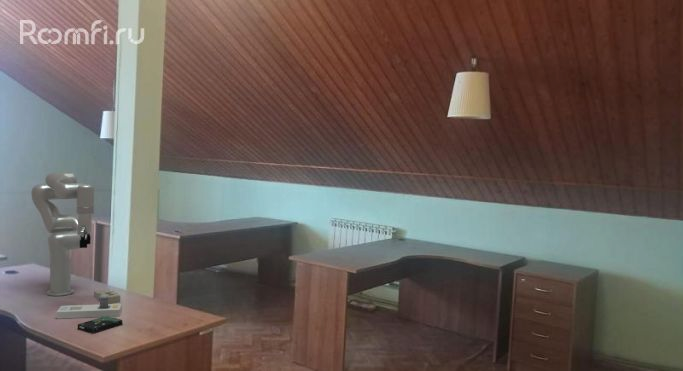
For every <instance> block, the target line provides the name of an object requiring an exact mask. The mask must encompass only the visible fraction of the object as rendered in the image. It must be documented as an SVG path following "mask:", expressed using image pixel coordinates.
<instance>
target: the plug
mask: <svg viewBox="0 0 683 371" xmlns="http://www.w3.org/2000/svg"><path fill="white" fill-rule="evenodd" d="M108 298H109V295H107V294H103V295H100V300H99V304H100V309H108Z"/></svg>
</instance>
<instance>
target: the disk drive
mask: <svg viewBox="0 0 683 371" xmlns="http://www.w3.org/2000/svg"><path fill="white" fill-rule="evenodd" d="M122 325H123V319H121V318H116V317H109V316H107V317H97V318H96V319H91V320H88V321H85V322H81V323H78V324H77V330H79V331H82V332H85V333H90V334H93V335H94V334H98V333H101V332H103V331H107V330H111V329H114V328H117V327H119V326H122Z"/></svg>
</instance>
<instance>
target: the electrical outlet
mask: <svg viewBox="0 0 683 371" xmlns="http://www.w3.org/2000/svg"><path fill="white" fill-rule="evenodd" d="M103 294H107V295H109V298H108V304H113V303H114V304H121V295H120V294H118V292H116V291H114V290H111V289H109V288H108V289H107V288H106V289H99V290H94V291H93V297H94V298H96V299H97V300H98V301H100V295H103Z"/></svg>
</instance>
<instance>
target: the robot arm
mask: <svg viewBox="0 0 683 371" xmlns="http://www.w3.org/2000/svg"><path fill="white" fill-rule="evenodd" d="M77 178H78V177H77V176H76V174H75V173H73V172H71V171H55V172H50V173H48V174H47V175H46V177H45V183H40V184H36V185H35V186H33V187H32V189H31V193H30V194H31V200H32V202H33V204H34V206H35V208H36V209H37V210H38V212H39V214H40V216H41V220H42V222H43V224H44V228H45V229H46V231H47V232H48V233H49V234H50V235H49V236H48V238H47V244H48V250H49V289H48V290H47V291H46V295H47V296H50V297H51V296H52V297H61V296H68V295H71V294H74V293H75V289H74V288H72V285H71V284H72V283H71V280H72V279H71V278H72V269H71V268H72V266H71V264H72V263H71V262H72V258H71V256H70V255H69V254H68V253H67V251H71V250H77V249H79V250H80V249H87V248H88V245H90V244H91V239H92V238H91V232H92V221H93V220H92V215H93V214H95V187H94V185H91V184H88V183H83V182H81V183H80V182H79V183H78V179H77ZM50 200H52V201H53V200H76V214H77V215H78V217H77V216H76V215H75V214H68V213H67V214H62V213H60V210H59V208H58V207H57V205H55V204H54V203H53V202H51V201H50Z"/></svg>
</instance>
